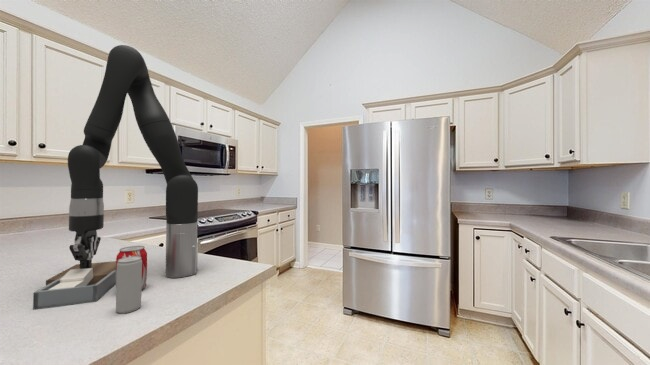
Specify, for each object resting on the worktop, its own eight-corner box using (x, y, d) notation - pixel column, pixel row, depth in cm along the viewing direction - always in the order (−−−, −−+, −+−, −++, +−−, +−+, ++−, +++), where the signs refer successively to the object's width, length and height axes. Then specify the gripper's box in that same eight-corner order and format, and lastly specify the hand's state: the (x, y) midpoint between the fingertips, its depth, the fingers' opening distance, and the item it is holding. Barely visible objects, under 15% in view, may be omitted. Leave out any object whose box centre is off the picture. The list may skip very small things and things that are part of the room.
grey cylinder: (125, 304, 63) (126, 256, 64) (145, 304, 64) (146, 256, 64) (110, 314, 59) (111, 262, 59) (132, 313, 59) (133, 261, 59)
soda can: (112, 297, 67) (113, 252, 68) (118, 288, 74) (119, 246, 74) (144, 293, 71) (145, 249, 71) (148, 284, 77) (149, 244, 77)
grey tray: (116, 283, 77) (116, 270, 77) (96, 301, 65) (96, 285, 65) (64, 289, 73) (64, 275, 73) (33, 309, 61) (33, 292, 61)
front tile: (83, 291, 70) (84, 280, 70) (73, 299, 65) (73, 287, 65) (60, 294, 68) (60, 282, 68) (47, 302, 64) (47, 289, 64)
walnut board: (133, 268, 92) (133, 259, 92) (116, 283, 77) (116, 273, 77) (76, 273, 86) (76, 264, 86) (45, 291, 71) (45, 280, 71)
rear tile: (93, 277, 75) (92, 267, 74) (84, 287, 70) (83, 277, 70) (71, 279, 73) (70, 269, 73) (60, 289, 69) (59, 279, 68)
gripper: (92, 215, 71) (91, 278, 70) (111, 211, 83) (110, 265, 83) (56, 216, 68) (55, 282, 68) (82, 212, 80) (80, 267, 80)
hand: (85, 272), depth 75 cm, fingers closed
